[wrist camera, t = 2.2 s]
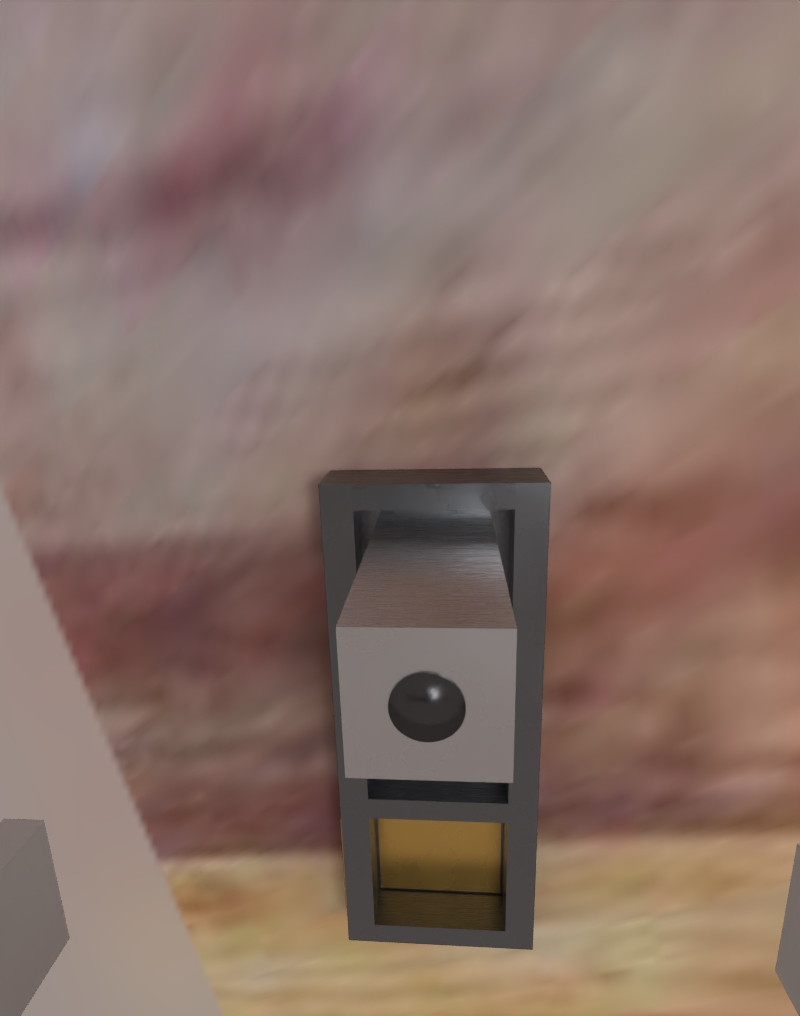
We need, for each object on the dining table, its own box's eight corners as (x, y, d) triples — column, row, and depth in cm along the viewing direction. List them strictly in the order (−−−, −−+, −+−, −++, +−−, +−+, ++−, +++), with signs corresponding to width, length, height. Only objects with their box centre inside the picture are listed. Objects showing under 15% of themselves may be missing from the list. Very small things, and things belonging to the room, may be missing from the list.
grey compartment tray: (328, 470, 25) (315, 484, 23) (541, 467, 24) (550, 482, 22) (354, 893, 31) (346, 939, 29) (526, 901, 30) (532, 949, 28)
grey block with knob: (379, 514, 25) (335, 628, 15) (490, 513, 24) (517, 630, 15) (383, 615, 26) (344, 780, 16) (489, 615, 26) (513, 785, 16)
